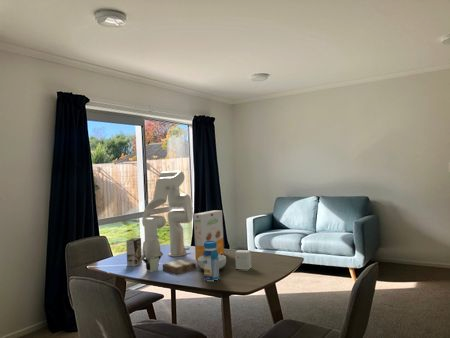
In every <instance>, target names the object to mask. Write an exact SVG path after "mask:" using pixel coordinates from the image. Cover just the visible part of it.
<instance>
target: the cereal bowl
mask: <svg viewBox="0 0 450 338" xmlns="http://www.w3.org/2000/svg"><path fill="white" fill-rule="evenodd" d="M203 258H204V257H203V256H201V257H199V258H198V261H197V264H198V266H199V267H200V268H201V269H202V270H204V263H203ZM218 258H219V261H218V262H219V270H220V269H222V268H224V267H225V266H226V263H227V256H226V255H224V254H222V255H220V254H218Z"/></svg>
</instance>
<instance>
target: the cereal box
mask: <svg viewBox="0 0 450 338" xmlns="http://www.w3.org/2000/svg"><path fill="white" fill-rule="evenodd" d="M223 221H224V220H223V210H217V209H216V210H209V211H204V212H203V211H202V212H198V213H194V214H193V229H194V230H193V231H194V232H193V233H194V249H195V250H194V251H195V253H194V254H195V261H197V260H198V258H199V257H201V256H203V253H204V251H205V249H204V242H206V241H216V243H217V247H216V248H215V249H216V250H217V252H218V254H220V255H221V254H222V255H224V254H225V248H224V247H225V245H224V226H223V225H224V224H223Z"/></svg>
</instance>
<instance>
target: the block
mask: <svg viewBox="0 0 450 338" xmlns="http://www.w3.org/2000/svg"><path fill="white" fill-rule="evenodd" d="M149 263H150V270H147V269H146V271H147V272H150V273H153V272H156V271H159V268H158V267H159V266H158V258H155V257H153V258H150V261H149Z"/></svg>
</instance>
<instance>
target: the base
mask: <svg viewBox="0 0 450 338" xmlns="http://www.w3.org/2000/svg"><path fill="white" fill-rule="evenodd" d="M194 269H195V270H197V264H196V263H195V262H193V261H189V260H186V259H178V260H174V261H169V262H165V263H164V264H162V271H164V272H167V273H171V274H173V275H180V274H184V273H188V272H190V270H191V271H194ZM187 271H188V272H187Z"/></svg>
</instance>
